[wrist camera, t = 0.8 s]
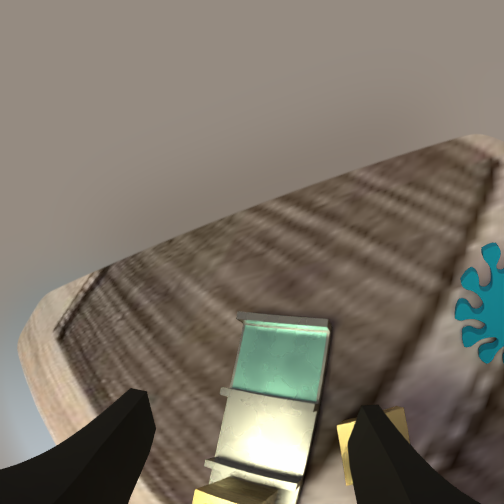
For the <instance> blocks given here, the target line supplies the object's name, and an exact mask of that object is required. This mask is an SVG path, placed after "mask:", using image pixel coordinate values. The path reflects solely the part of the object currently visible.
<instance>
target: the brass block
mask: <svg viewBox="0 0 504 504" xmlns="http://www.w3.org/2000/svg"><path fill="white" fill-rule="evenodd" d="M277 493H278V490H277V489H272V488H268V487H264V486H260V485H256V484H253V483H249V482H245V481H242V480H239V479H235V478H232V477H227V478H224V479H222V480H219V481H216V482H214V483H211V484H208V485H206V486H203V487H200V488H197V489H195V494H194V499H193V503H192V504H275V500H276V496H277Z"/></svg>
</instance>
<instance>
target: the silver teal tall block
mask: <svg viewBox="0 0 504 504" xmlns="http://www.w3.org/2000/svg"><path fill="white" fill-rule="evenodd" d="M236 319H237V320H239V321H240V322H242V323H243V329H242V334H241V338H240V343H239V348H238V352H237V357H236V362H235V367H234V371H233V376H232V381H231V385H230V388H225V387H221V391H220V395H224V396H228V399H227V404H226V409H225V413H224V418H223V422H222V427H221V432H220V436H219V441H218V445H217V450H216V455H215V457H214V458H210V459H206V460H205V465H204V466H205V467H208V468H211V469H212V473H211V477H210V482H209V484H211V483H214V482H216V481H219V480H222V479H224V478H227V477H232V478H235V479H239V480H242V481H245V482H249V483H253V484H256V485H260V486H264V487H268V488H272V489H277V490H278V493H277V496H276V500H275V504H297V503H298V500H299V496H300V492H301V488H302V484H303V481H304V477H305V473H306V469H307V464H308V460H309V456H310V451H311V447H312V443H313V438H314V433H315V428H316V424H317V419H318V413H319V408H320V403H321V398H322V392H323V386H324V380H325V374H326V368H327V362H328V355H329V349H330V342H331V334H332V325H331V323H330V322H329V320H328V319H321V318H306V317H293V316H281V315H270V314H259V313H249V312H239V311H238V313H237V317H236Z"/></svg>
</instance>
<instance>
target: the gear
mask: <svg viewBox="0 0 504 504" xmlns="http://www.w3.org/2000/svg"><path fill="white" fill-rule="evenodd" d="M481 252H482V255H483V258H484V260H485V261H486V262H487V263H488V265H489V266H490V270H491V281H490V283H489V284H488V285H487V286H485V287H482V286H480V285H479V277H478V274H477V271H476V269H474V268H473V267H470V268H468V269H467V270H466V271H465V273H464V274H463V275H462V277H461V284H462V286H463V287H464V288H465V289H467V290H471V291H473V292H475V293H476V294H478V295H479V297H480V298H481V300H482V301H483V304H482V306H481V307H480V308H477V309H475V308H472V307H471V305H470V303H469V302H468V300H466V299H464V298H460V299H459V300H458V301H457V304H456V307H455V318H456V319H457V320H460V321H462V320H466V319H476V320H479V321H481V322H483V323H485V326H484V327H483V328H481V329H476V328H474V327H472V326H466V327H464V328H463V329H462V340H463V344H464V347H471V346H472V345H474V344H475V343H476V342H478V341H479V340H481V339H484V338H489V337H496V338H497V339H496V340H495V341H494V342H493V343H486V344H483V345H481V346H480V347H479V349H478V351H479V357H480V359H481V360H482V361H483V362H485V363H486V364H487V363H489V362H491V361H492V360H493V358H494V356H495V354H496V353H497V352H498V350H499V349H501V348H502V347H503V346H504V268H503V269H497V268H496V266H497V263H498V260H499V258H500V255H501V251H500V248H499V247H498V245H497V244H496V242H495V243H489V244H487V245H485V246H483V247H482V249H481ZM503 363H504V353H503Z"/></svg>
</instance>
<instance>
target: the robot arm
mask: <svg viewBox="0 0 504 504" xmlns="http://www.w3.org/2000/svg"><path fill="white" fill-rule="evenodd" d="M155 431H156V426H155V423H154V419H153V415H152V411H151V407H150V403H149V399H148V394H147V391H142V390H137V389H133V388H130V389H129V390H128V391H127V392H126V393H124V394H123V395H122V396H121V397H120V398H119V399H117V400H116V401H115V402H114V403H113V404H112V405H111V406H109V407H108V408H107V409H106V410H105V411H103V412H102V413H101V414H100V415H99V416H97V417H96V418H95V419H94V420H92V421H91V422H90V423H89V424H87V425H86V426H85V427H83V428H82V429H81V430H79V431H78V432H76V433H75V434H74V435H72V436H71V437H69V438H68V439H66V440H65V441H63V442H62V443H60V444H58V445H57V446H55V447H54V448H52V449H50V450H48V451H46V452H44V453H42V454H40V455H38V456H36V457H34V458H31V459H29V460H27V461H24V462H22V463H19V464H17V465H14V466H10V467H8V468H4V469H0V504H128V502H129V500H130V497H131V495H132V492H133V490H134V488H135V485H136V483H137V481H138V478H139V476H140V474H141V471H142V469H143V467H144V464H145V462H146V460H147V457H148V455H149V452H150V449H151V445H152V442H153V438H154V434H155ZM348 455H349V466H350V471H351V476H352V481H353V486H354V490H355V495H356V500H357V504H481V503H479V502H477V501H475V500H474V499H472V498H471V497H469V496H467V495H466V494H464V493H463V492H461V491H460V490H458V489H457V488H456V487H454V486H453V485H452V484H450V483H449V482H448V481H447V480H446V479H444V478H443V477H442V476H441V475H440V474H438V473H437V472H436V471H435V470H434V469H433V468H432V467H431V466H430V465H429V464H428V463H427V462H426V461H425V460H424V459H423V458H422V457H421V456H420V455H419V454H418V453H417V451H416V450H415V449H414V448H413V447H412V446H411V445H410V443H409V442H408V441H407V440H406V439H405V438H404V436H403V435H402V434H401V433H400V432H399V430H398V429H397V428H396V427H395V425H394V424H393V423H392V422H391V420H390V419H389V418H388V416H387V415H386V414H385V413H384V411H383V410H382V409H381V408H380V406H379V405H367V406H361V408H360V411H359V414H358V416H357V419H356V422H355V424H354V427H353V430H352V432H351V435H350V437H349V440H348Z"/></svg>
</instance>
